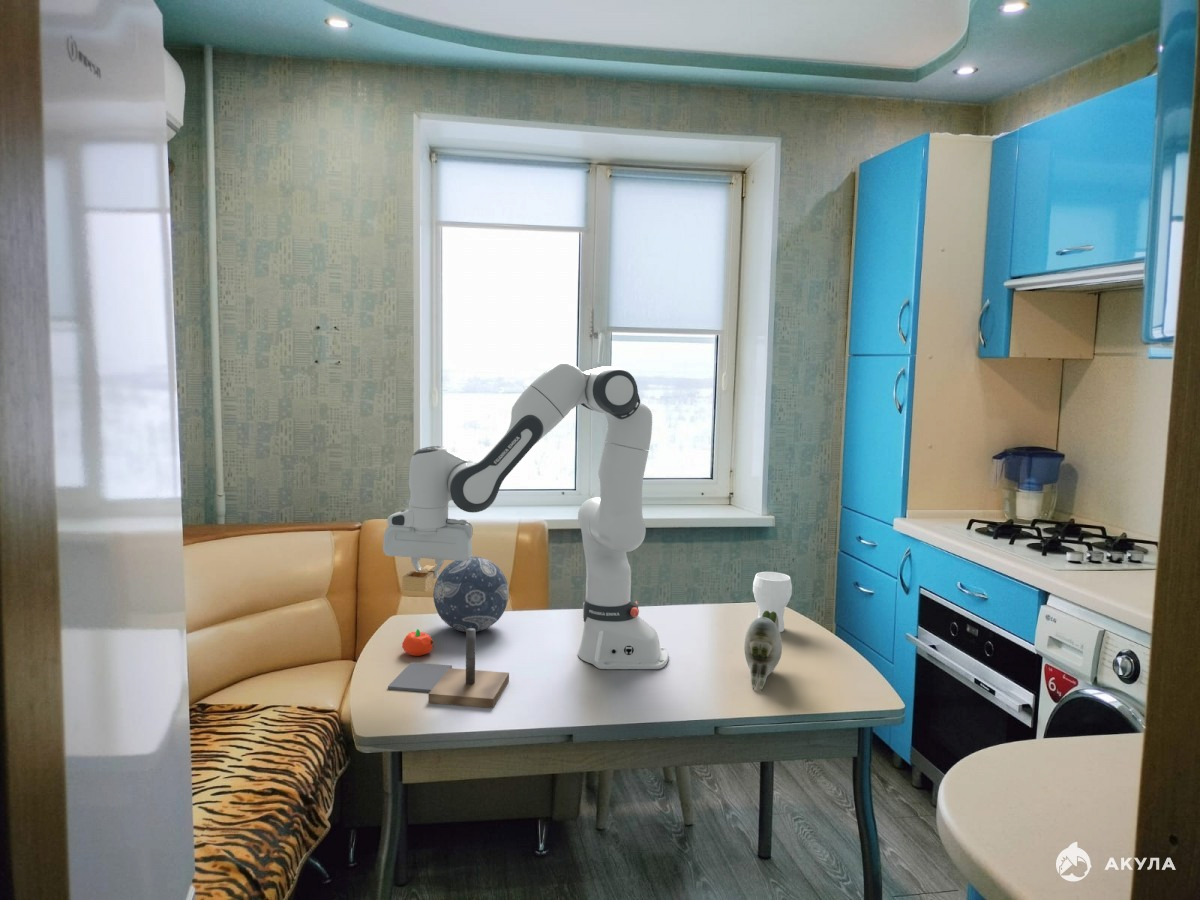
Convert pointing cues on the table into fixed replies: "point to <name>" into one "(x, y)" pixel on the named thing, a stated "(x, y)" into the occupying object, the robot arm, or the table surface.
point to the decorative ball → (471, 594)
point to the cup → (772, 594)
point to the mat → (419, 677)
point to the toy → (763, 647)
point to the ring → (419, 579)
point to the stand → (469, 682)
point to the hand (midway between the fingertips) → (427, 576)
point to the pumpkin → (417, 643)
